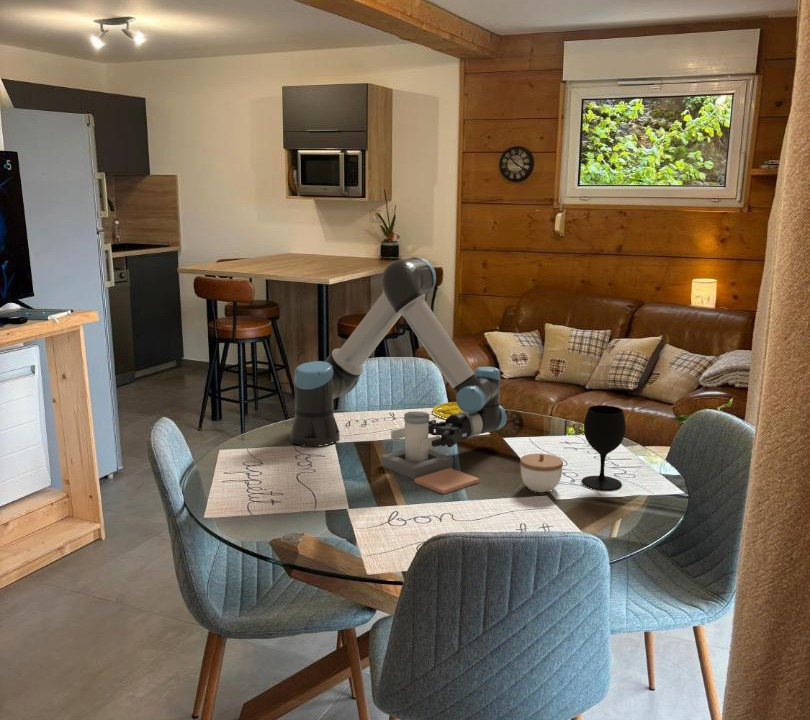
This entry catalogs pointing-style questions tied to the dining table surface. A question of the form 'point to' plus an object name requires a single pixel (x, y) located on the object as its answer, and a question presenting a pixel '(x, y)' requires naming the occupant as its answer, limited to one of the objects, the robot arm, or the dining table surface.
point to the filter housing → (413, 470)
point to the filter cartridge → (415, 436)
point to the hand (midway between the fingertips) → (406, 440)
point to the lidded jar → (541, 471)
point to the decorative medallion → (447, 409)
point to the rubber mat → (446, 480)
